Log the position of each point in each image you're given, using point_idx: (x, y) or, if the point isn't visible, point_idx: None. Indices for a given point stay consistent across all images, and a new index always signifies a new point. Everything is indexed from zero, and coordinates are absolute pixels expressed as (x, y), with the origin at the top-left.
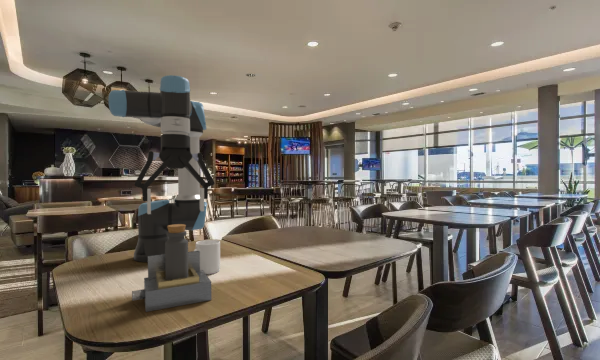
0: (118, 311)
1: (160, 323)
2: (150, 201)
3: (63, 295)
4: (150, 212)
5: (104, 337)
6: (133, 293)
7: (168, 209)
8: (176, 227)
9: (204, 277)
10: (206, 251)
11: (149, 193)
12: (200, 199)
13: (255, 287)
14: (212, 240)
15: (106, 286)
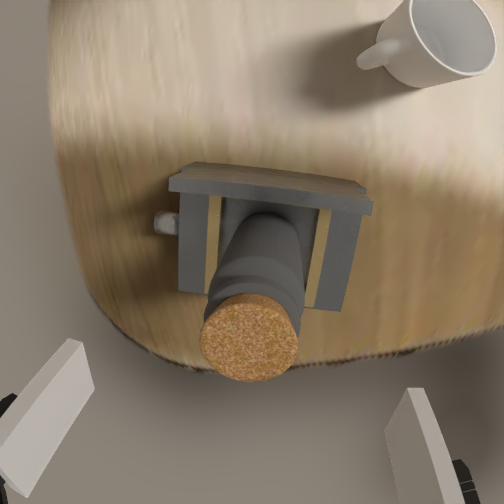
0: (141, 233)
1: None
2: (60, 440)
3: (50, 71)
4: (89, 393)
5: (132, 328)
6: (158, 232)
7: None
8: (238, 377)
9: (340, 268)
10: (429, 70)
11: (33, 474)
12: (412, 472)
13: (448, 271)
14: (476, 6)
15: (122, 38)
